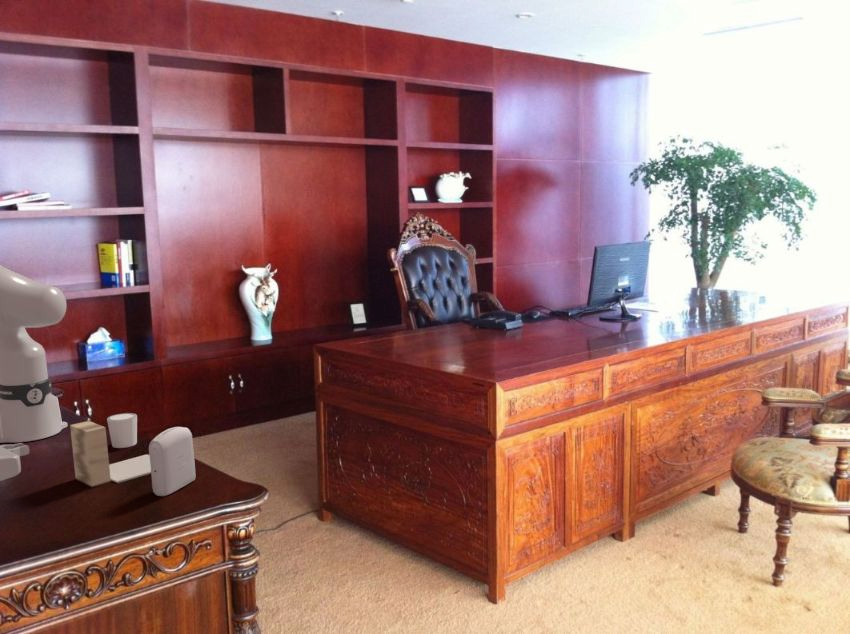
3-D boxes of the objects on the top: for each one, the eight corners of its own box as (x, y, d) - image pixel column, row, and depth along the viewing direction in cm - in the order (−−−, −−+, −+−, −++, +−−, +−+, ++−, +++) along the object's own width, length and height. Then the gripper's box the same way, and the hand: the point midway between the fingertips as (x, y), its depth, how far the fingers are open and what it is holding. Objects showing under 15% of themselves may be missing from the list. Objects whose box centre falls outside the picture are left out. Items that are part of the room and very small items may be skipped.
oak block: (75, 479, 173) (69, 425, 171) (93, 473, 176) (88, 420, 174) (92, 487, 168) (86, 431, 166) (110, 482, 171) (105, 427, 169)
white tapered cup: (115, 450, 192) (113, 422, 191) (105, 444, 197) (102, 416, 196) (144, 444, 196) (141, 416, 195) (133, 438, 201) (130, 411, 200)
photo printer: (167, 497, 161) (161, 437, 159) (149, 495, 162) (144, 436, 160) (199, 480, 170) (194, 423, 168) (182, 478, 172) (177, 421, 170)
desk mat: (92, 471, 178) (91, 469, 178) (147, 455, 187) (146, 454, 187) (117, 483, 170) (117, 481, 170) (173, 466, 179) (173, 465, 179)
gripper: (-67, 469, 158) (7, 452, 168) (-30, 494, 145) (48, 474, 155) (-70, 438, 157) (4, 423, 167) (-33, 461, 144) (46, 442, 154)
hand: (26, 448), depth 161 cm, fingers closed
